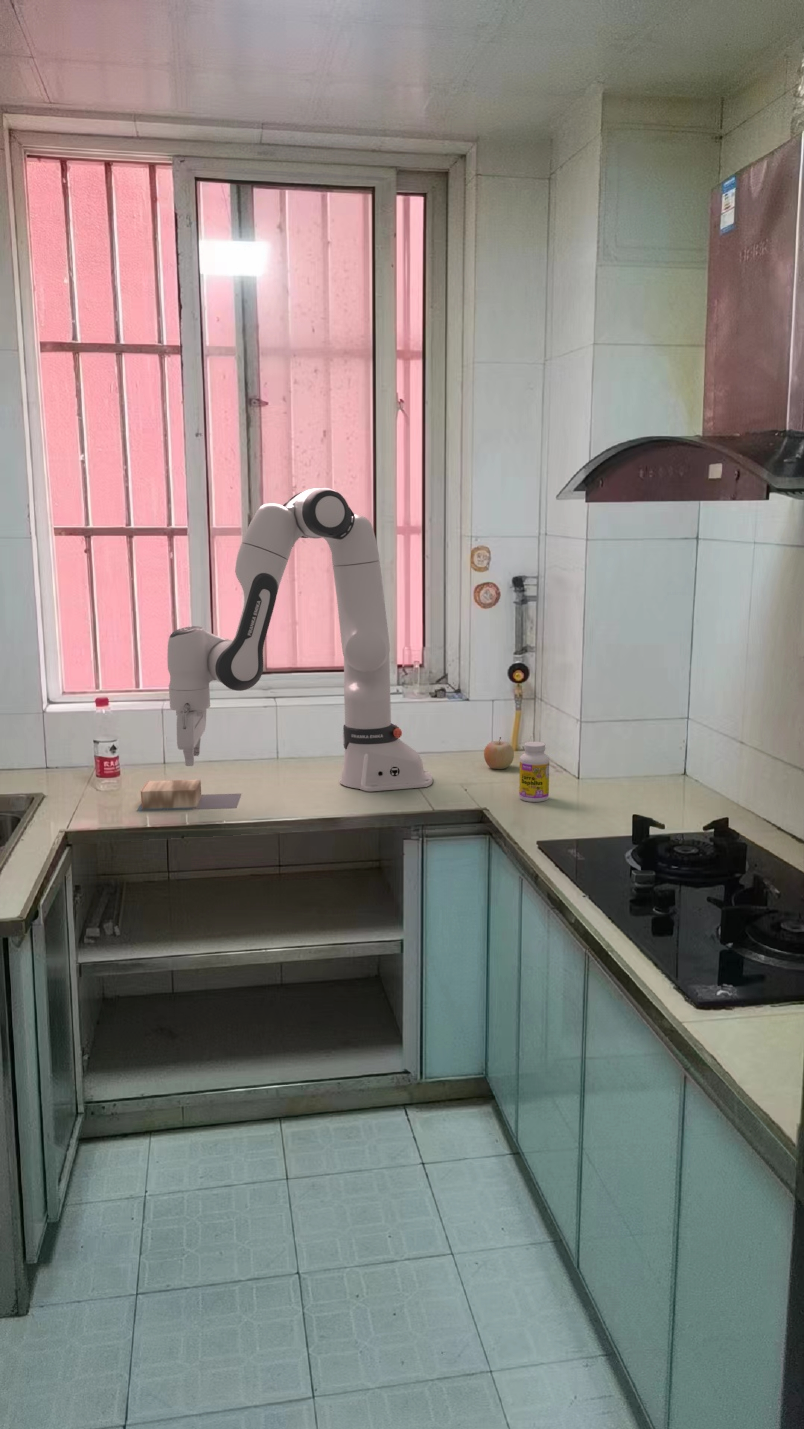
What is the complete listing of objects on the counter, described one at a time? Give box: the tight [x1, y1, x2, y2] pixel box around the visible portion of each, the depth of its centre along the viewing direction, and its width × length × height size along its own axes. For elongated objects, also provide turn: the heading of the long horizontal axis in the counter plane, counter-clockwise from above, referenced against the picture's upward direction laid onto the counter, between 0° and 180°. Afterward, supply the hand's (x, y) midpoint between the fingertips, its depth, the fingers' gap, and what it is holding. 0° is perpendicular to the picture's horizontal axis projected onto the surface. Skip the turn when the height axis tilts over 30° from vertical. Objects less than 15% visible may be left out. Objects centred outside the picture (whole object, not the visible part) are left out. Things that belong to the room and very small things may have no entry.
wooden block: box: [140, 779, 202, 809], centre depth 241 cm, size 4×9×12 cm
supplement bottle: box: [518, 741, 550, 803], centre depth 241 cm, size 7×7×13 cm
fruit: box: [483, 736, 515, 770], centre depth 270 cm, size 8×7×8 cm
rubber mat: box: [136, 793, 243, 812], centre depth 242 cm, size 22×12×1 cm, turn 93°
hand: (192, 760), depth 240 cm, fingers open, 8 cm apart
